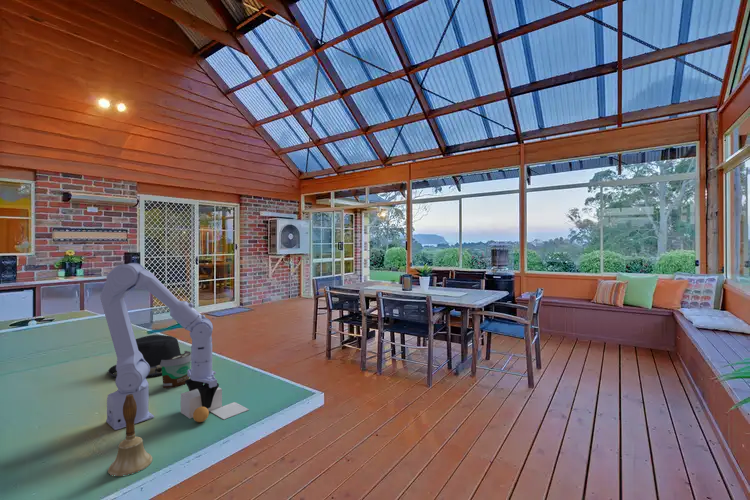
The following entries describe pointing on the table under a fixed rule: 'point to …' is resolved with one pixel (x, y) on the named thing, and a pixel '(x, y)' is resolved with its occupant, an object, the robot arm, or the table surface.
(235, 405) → the light gray square block
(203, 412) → the ball
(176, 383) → the food container
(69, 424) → the table surface
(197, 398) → the off-white rectangular block
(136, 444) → the hand bell
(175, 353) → the fedora
